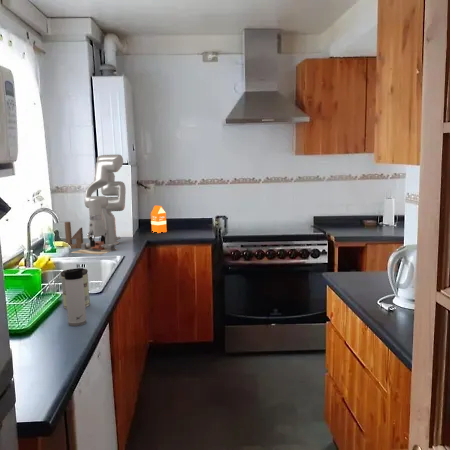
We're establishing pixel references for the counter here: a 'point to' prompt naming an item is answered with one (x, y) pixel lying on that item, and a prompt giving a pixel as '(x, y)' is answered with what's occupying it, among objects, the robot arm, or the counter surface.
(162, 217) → the orange juice
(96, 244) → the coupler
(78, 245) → the brown long handled part
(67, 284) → the travel mug
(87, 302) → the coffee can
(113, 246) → the jig
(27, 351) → the counter surface
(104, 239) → the robot arm
